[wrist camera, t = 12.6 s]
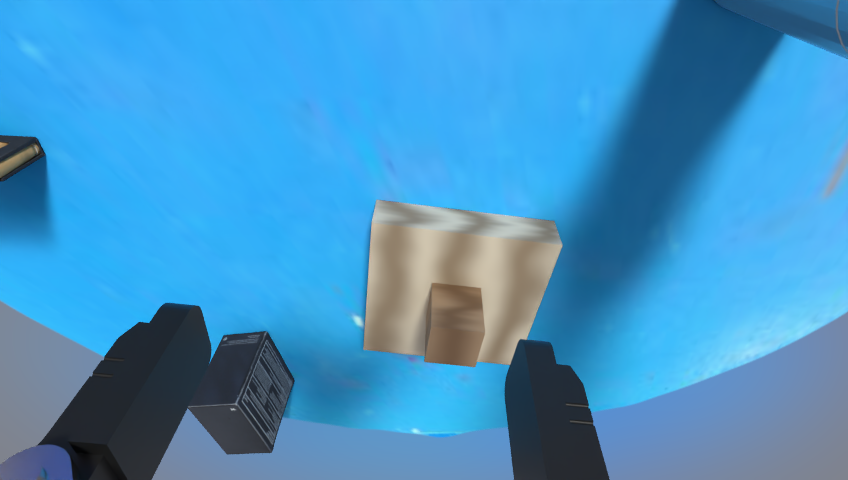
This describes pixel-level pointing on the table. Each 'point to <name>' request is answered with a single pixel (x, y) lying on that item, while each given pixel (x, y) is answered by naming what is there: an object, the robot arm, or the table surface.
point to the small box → (243, 394)
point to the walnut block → (454, 325)
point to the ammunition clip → (17, 154)
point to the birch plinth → (455, 273)
